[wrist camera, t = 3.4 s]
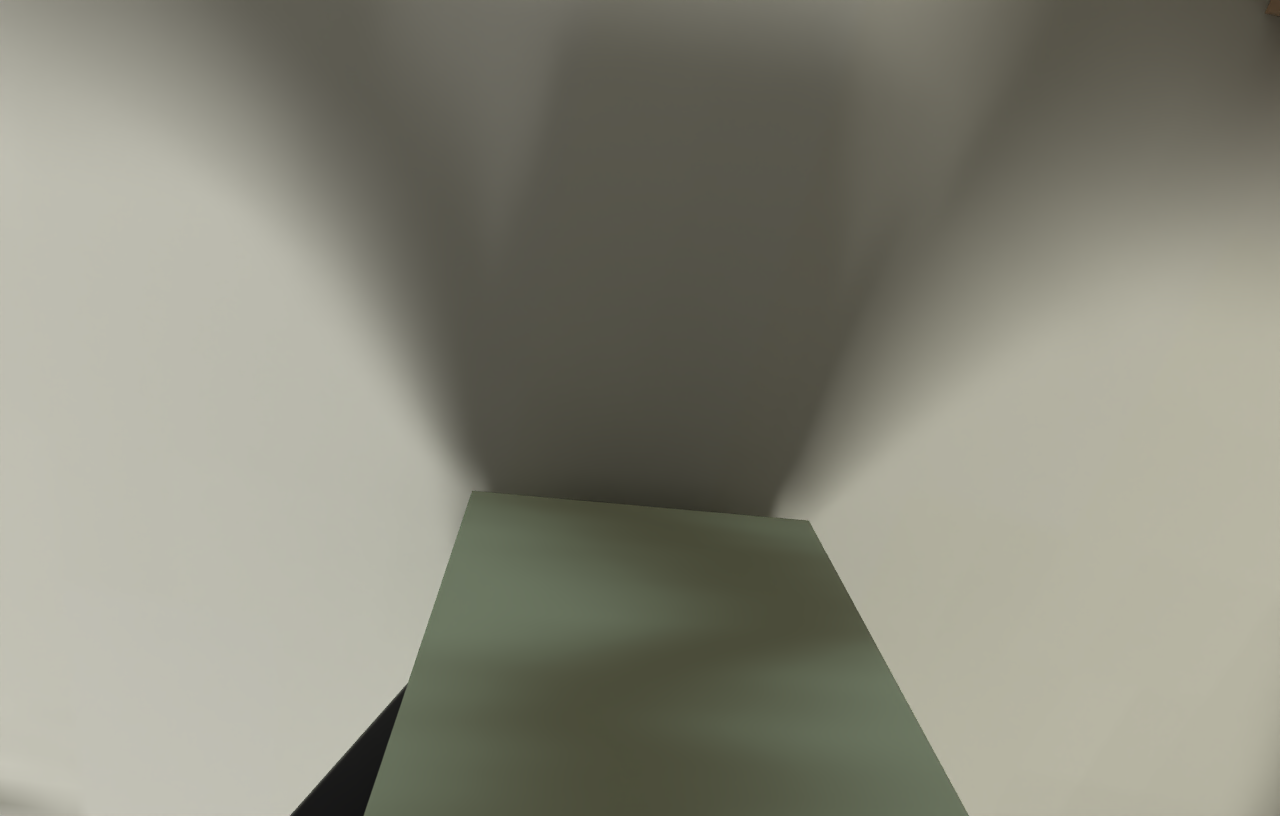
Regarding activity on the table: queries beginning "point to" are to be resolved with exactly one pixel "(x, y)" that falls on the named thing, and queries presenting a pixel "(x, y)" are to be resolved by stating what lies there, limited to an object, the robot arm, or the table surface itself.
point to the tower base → (1273, 8)
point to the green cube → (649, 675)
